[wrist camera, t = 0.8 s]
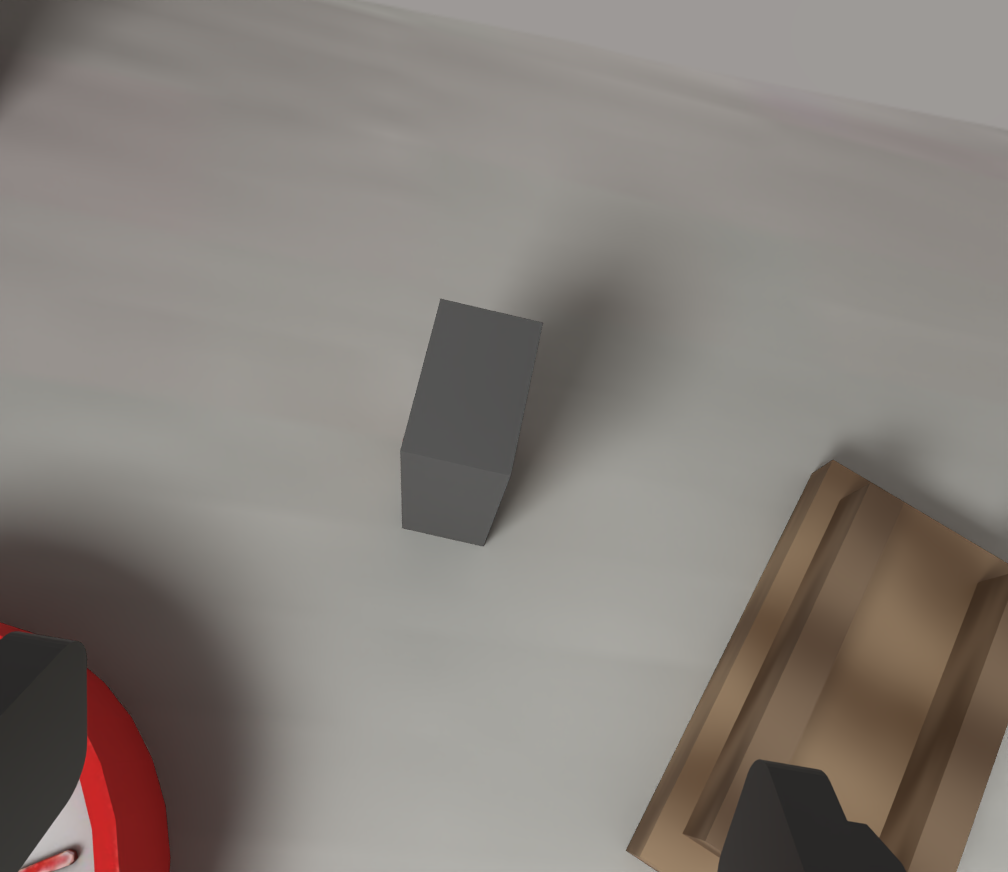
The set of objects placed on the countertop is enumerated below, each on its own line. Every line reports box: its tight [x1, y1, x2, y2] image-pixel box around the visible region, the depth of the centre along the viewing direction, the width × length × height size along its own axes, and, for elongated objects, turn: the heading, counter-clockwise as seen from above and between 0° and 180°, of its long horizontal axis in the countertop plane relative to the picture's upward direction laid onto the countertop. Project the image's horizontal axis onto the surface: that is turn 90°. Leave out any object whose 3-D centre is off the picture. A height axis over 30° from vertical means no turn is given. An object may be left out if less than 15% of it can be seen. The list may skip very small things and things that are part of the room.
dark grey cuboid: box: [400, 299, 543, 546], centre depth 32 cm, size 6×4×10 cm, turn 169°
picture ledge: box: [626, 460, 1008, 872], centre depth 32 cm, size 18×10×4 cm, turn 149°
